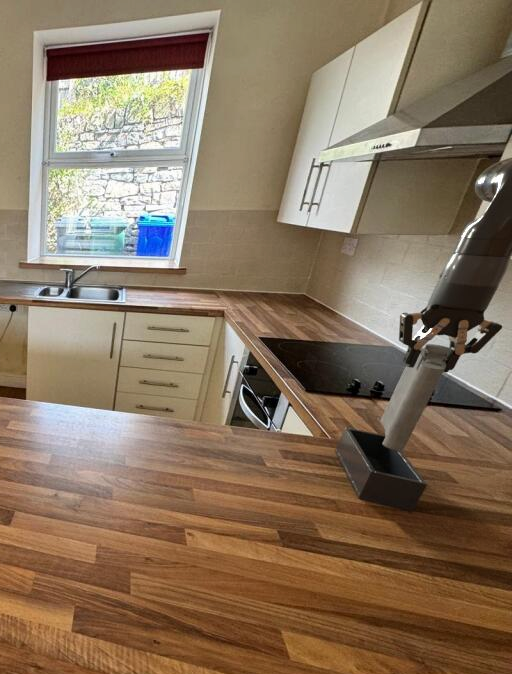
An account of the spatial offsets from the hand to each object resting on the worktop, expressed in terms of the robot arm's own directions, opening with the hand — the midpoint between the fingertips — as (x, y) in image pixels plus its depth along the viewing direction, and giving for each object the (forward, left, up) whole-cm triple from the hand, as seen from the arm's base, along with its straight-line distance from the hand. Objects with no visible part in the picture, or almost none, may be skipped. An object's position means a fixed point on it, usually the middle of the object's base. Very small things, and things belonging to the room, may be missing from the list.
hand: (425, 368), depth 79 cm
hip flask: (0, 0, -16) cm, 16 cm away
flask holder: (+1, 0, -27) cm, 27 cm away
